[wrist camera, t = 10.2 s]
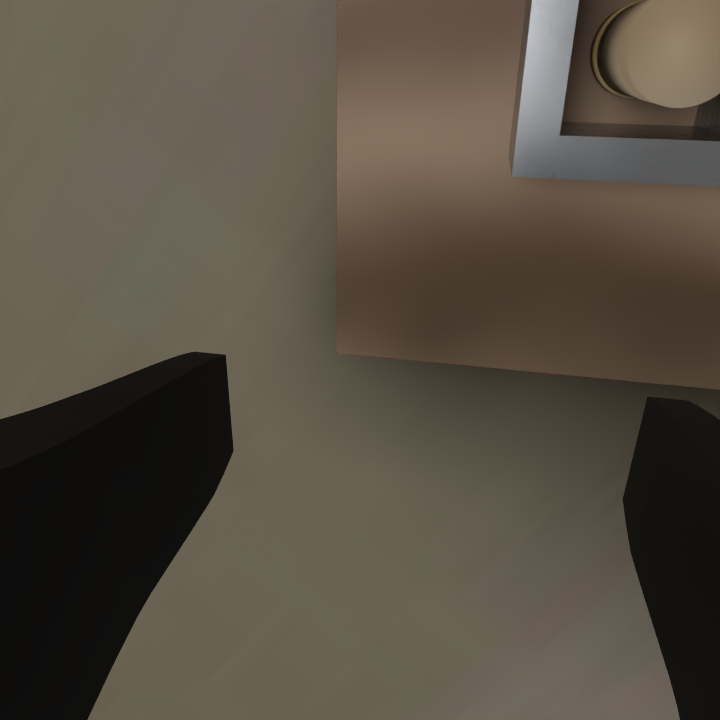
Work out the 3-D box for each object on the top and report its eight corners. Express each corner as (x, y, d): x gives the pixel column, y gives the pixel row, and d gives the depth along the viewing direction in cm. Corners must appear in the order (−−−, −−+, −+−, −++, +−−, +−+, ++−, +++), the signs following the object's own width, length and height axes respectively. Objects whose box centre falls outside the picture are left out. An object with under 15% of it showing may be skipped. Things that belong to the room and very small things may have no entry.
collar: (722, 164, 16) (776, 189, 13) (508, 155, 17) (511, 176, 14) (786, -88, 14) (869, -131, 11) (535, -84, 15) (546, -122, 12)
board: (828, 386, 19) (956, 511, 14) (343, 340, 22) (293, 433, 16) (1159, -495, 12) (1734, -974, 6) (347, -413, 14) (257, -704, 9)
